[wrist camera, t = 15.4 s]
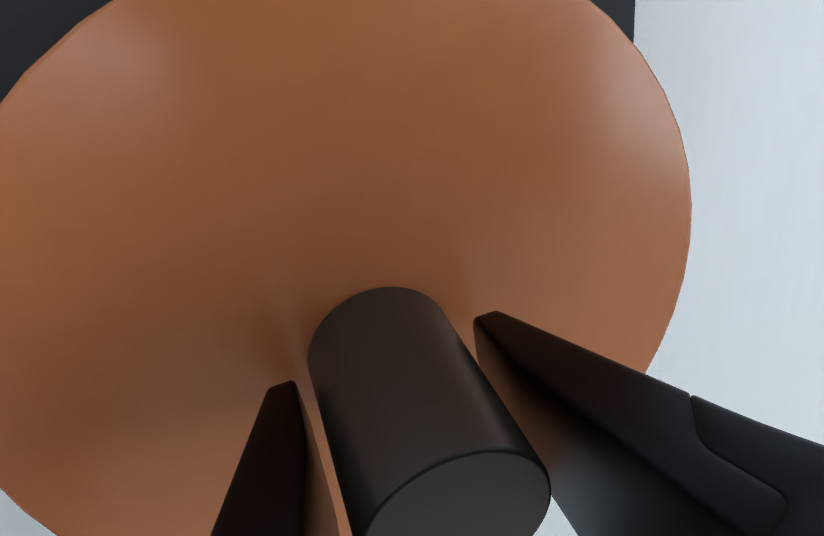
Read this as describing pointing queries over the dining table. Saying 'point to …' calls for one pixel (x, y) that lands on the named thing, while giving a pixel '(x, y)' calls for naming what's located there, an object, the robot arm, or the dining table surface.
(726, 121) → the dining table surface
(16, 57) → the placemat
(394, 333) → the pot lid
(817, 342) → the dining table surface
